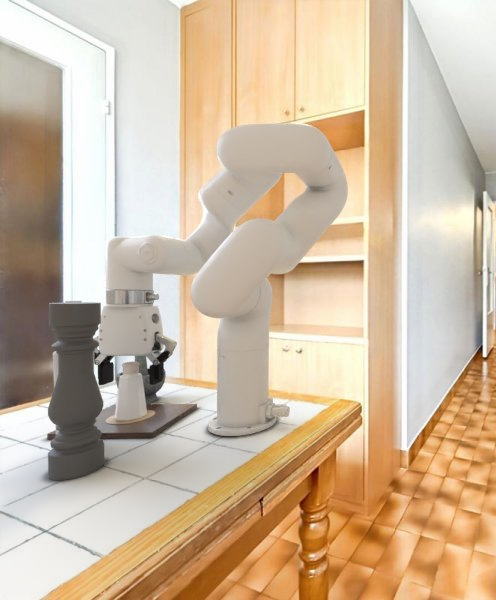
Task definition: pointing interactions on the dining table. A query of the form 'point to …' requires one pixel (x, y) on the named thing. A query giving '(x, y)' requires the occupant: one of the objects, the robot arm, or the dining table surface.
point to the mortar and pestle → (146, 380)
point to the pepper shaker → (130, 394)
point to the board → (139, 421)
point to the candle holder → (75, 392)
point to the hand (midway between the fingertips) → (131, 383)
